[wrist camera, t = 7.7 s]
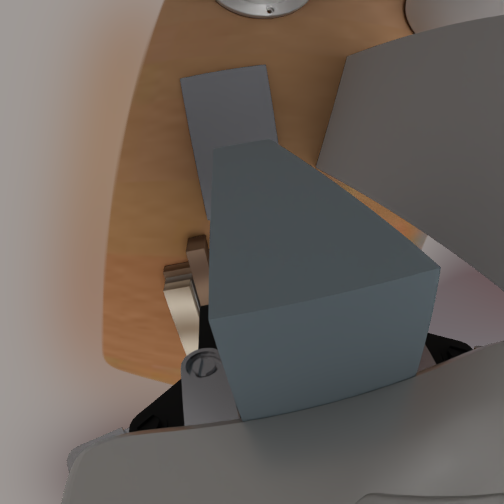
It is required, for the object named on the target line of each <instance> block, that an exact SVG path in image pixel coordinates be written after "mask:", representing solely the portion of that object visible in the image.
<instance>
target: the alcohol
mask: <svg viewBox="0 0 504 504" xmlns="http://www.w3.org/2000/svg"><path fill="white" fill-rule="evenodd" d="M405 12H406V17H407V20H408V23H409V25H410V27H411V28H412V30H413V31H414V32H415V34H416V33H420V32H423V31H427V30H431V29H435V28H439V27H443V26H447V25H452V24H456V23H461V22H465V21H470V20H476V19H481V18H487V17H493V16H499V15H504V0H406V7H405Z"/></svg>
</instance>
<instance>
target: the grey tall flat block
mask: <svg viewBox="0 0 504 504" xmlns="http://www.w3.org/2000/svg"><path fill="white" fill-rule="evenodd" d="M316 168H318V169H320V170H322V171H323V172H325V173H327V174H329V175H331V176H332V177H334V178H336V179H338V180H340V181H341V182H343V183H345V184H347V185H348V186H350V187H352V188H354V189H355V190H357V191H359V192H360V193H362V194H364V195H366V196H367V197H369V198H371V199H372V200H374V201H376V202H377V203H379V204H380V205H382V206H384V207H385V208H387V209H389V210H390V211H392V212H393V213H395V214H397V215H398V216H400V217H401V218H403V219H404V220H406V221H407V222H409V223H411V224H412V225H414V226H415V227H417V228H418V229H420V230H421V231H423V232H424V233H426V234H427V235H429V236H430V237H431V238H433V239H434V240H436V241H437V242H439V243H440V244H442V245H443V246H445V247H446V248H447V249H449V250H450V251H452V252H453V253H454V254H456V255H457V256H458V257H460V258H461V259H463V260H464V261H465V262H467V263H468V264H469V265H471V266H472V267H474V268H475V269H476V270H477V271H479V272H480V273H481V274H482V275H484V276H485V277H486V278H488V279H489V280H490V281H492V282H493V283H494V284H495V285H497V286H498V287H499V288H500V289H502V290H503V291H504V15H499V16H493V17H487V18H481V19H476V20H470V21H465V22H461V23H456V24H452V25H447V26H443V27H439V28H435V29H431V30H427V31H423V32H420V33H416V34H413V35H409V36H406V37H403V38H399V39H396V40H393V41H390V42H387V43H384V44H381V45H378V46H375V47H372V48H369V49H366V50H363V51H360V52H358V53H355V54H352V55H350V56H347V59H346V63H345V66H344V70H343V74H342V77H341V81H340V85H339V88H338V92H337V96H336V99H335V103H334V106H333V110H332V113H331V117H330V120H329V124H328V127H327V131H326V134H325V138H324V141H323V144H322V148H321V151H320V154H319V158H318V161H317V165H316Z"/></svg>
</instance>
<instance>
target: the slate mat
mask: <svg viewBox="0 0 504 504" xmlns="http://www.w3.org/2000/svg"><path fill="white" fill-rule="evenodd" d="M180 82H181V87H182V93H183V98H184V104H185V109H186V115H187V120H188V126H189V131H190V136H191V141H192V146H193V151H194V156H195V162H196V166H197V171H198V176H199V181H200V186H201V191H202V196H203V200H204V205H205V210H206V214H207V219H208V220H210V217H211V192H212V170H213V152H214V149H215V148H220V147H225V146H231V145H236V144H242V143H248V142H253V141H260V140H266V139H271V140H272V141H274V142H275V143H277V144H278V138H277V132H276V125H275V119H274V112H273V106H272V100H271V93H270V87H269V81H268V75H267V69H266V65H258V66H250V67H242V68H235V69H229V70H223V71H217V72H211V73H206V74H200V75H195V76H191V77H186V78H181V79H180Z"/></svg>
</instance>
